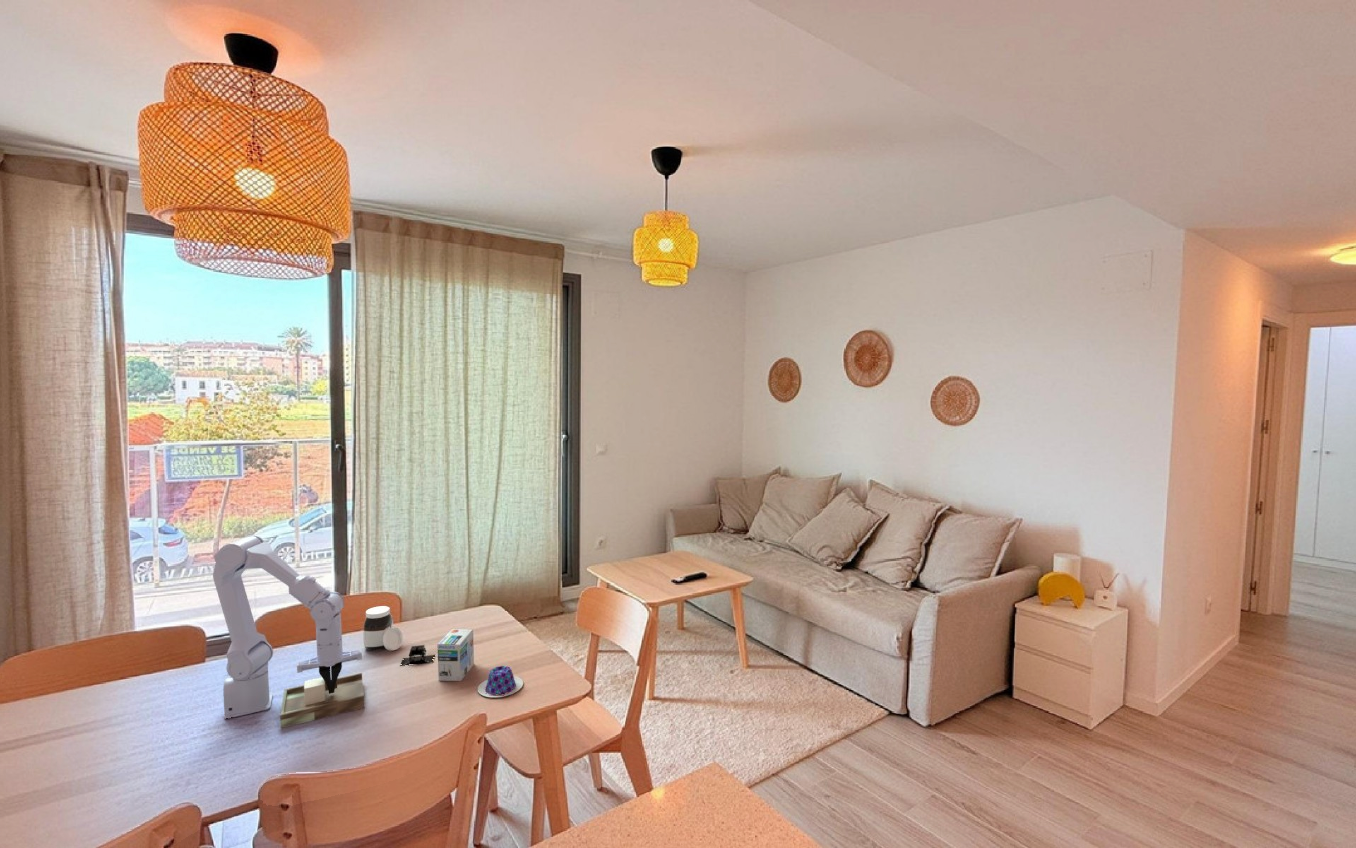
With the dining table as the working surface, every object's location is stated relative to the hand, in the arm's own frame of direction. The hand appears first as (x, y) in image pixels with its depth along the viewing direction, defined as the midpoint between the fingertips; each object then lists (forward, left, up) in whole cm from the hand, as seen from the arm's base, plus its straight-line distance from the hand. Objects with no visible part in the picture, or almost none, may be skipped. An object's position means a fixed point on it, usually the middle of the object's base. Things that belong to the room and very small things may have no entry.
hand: (331, 691), depth 156 cm
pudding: (+40, -14, -4) cm, 43 cm away
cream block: (-4, 0, -1) cm, 4 cm away
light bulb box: (+31, +1, -3) cm, 31 cm away
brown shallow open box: (-2, 0, -3) cm, 3 cm away
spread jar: (+14, +30, -3) cm, 33 cm away
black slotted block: (+22, +15, -4) cm, 27 cm away
